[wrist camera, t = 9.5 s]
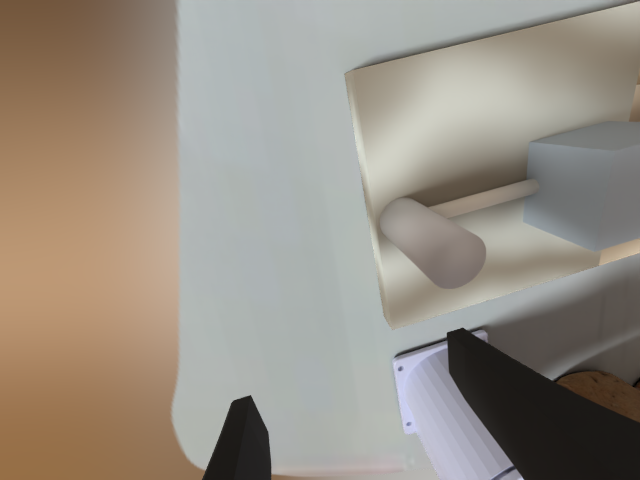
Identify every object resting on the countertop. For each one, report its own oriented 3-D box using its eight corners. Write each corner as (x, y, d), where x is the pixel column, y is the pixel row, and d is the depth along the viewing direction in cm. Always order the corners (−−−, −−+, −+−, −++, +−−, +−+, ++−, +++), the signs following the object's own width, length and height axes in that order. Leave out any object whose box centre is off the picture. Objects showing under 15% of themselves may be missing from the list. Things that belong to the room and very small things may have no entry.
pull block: (592, 201, 19) (707, 232, 14) (384, 261, 18) (431, 317, 13) (607, 121, 17) (747, 124, 12) (374, 183, 16) (424, 214, 11)
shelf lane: (690, 222, 24) (778, 244, 20) (384, 316, 22) (412, 363, 18) (775, -30, 17) (935, -75, 13) (344, 73, 15) (375, 59, 11)
